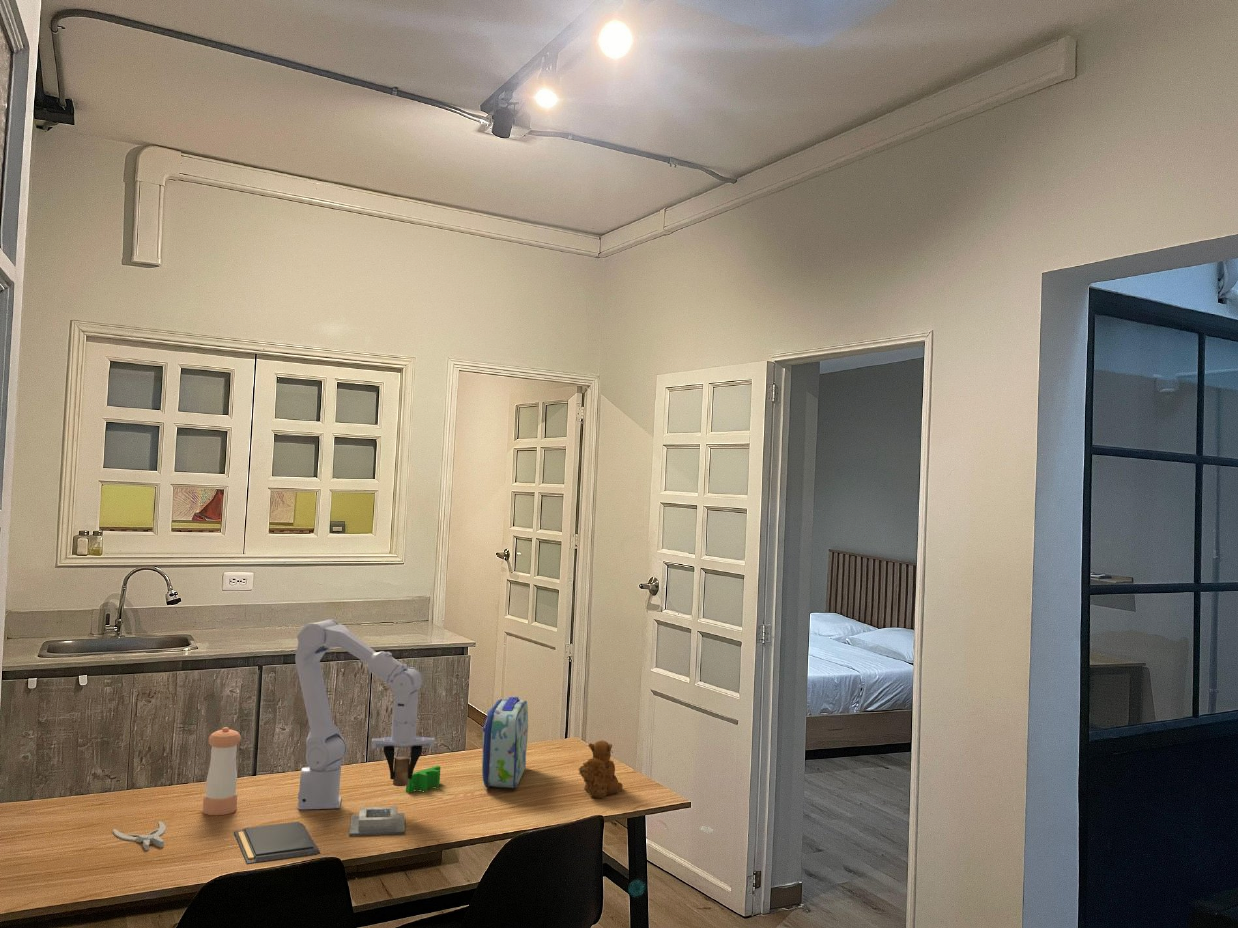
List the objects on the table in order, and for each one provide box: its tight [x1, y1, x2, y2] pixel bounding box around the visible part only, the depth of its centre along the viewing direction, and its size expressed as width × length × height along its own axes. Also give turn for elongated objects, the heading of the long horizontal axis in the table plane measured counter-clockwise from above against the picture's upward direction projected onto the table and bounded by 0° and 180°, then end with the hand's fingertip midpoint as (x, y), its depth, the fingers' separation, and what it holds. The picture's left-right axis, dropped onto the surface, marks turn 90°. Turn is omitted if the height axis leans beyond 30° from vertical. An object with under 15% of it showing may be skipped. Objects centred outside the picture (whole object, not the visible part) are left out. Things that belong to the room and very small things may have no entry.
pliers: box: [112, 821, 167, 851], centre depth 192 cm, size 10×2×15 cm
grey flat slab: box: [233, 821, 322, 865], centre depth 193 cm, size 20×2×15 cm
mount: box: [348, 806, 406, 837], centre depth 206 cm, size 12×12×3 cm
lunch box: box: [481, 696, 529, 789], centre depth 246 cm, size 26×11×21 cm, turn 179°
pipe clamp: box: [405, 765, 441, 793], centre depth 234 cm, size 11×4×5 cm, turn 148°
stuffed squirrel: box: [578, 740, 624, 799], centre depth 238 cm, size 10×14×13 cm
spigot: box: [392, 756, 410, 787], centre depth 215 cm, size 4×4×6 cm
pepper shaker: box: [202, 726, 242, 816], centre depth 211 cm, size 7×7×19 cm
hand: (400, 777), depth 215 cm, fingers closed on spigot, 4 cm apart
